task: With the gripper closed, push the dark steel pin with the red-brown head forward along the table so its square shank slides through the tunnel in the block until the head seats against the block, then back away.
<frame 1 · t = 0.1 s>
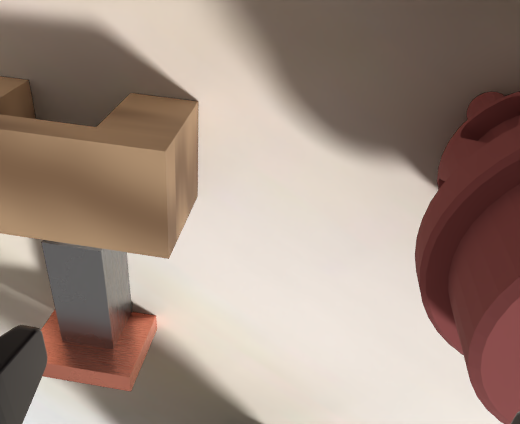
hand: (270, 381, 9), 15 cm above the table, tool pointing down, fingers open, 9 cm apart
pin: (102, 263, 29), on the table
mechanical component: (514, 150, 22), on the table
block: (85, 136, 24), on the table
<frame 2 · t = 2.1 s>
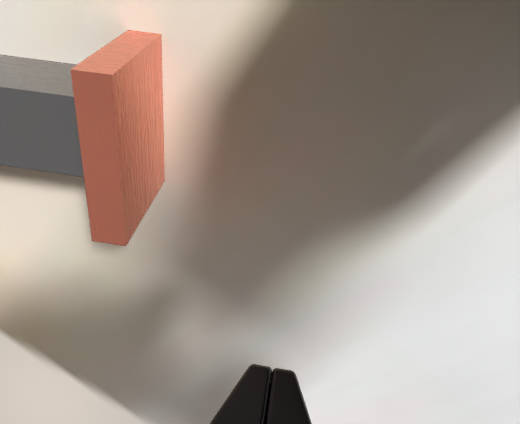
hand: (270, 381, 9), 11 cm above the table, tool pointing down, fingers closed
pin: (46, 97, 20), on the table
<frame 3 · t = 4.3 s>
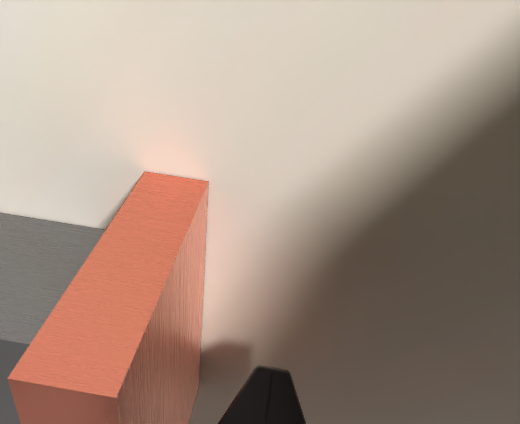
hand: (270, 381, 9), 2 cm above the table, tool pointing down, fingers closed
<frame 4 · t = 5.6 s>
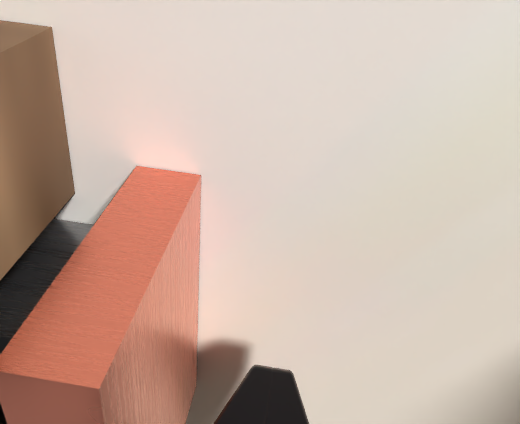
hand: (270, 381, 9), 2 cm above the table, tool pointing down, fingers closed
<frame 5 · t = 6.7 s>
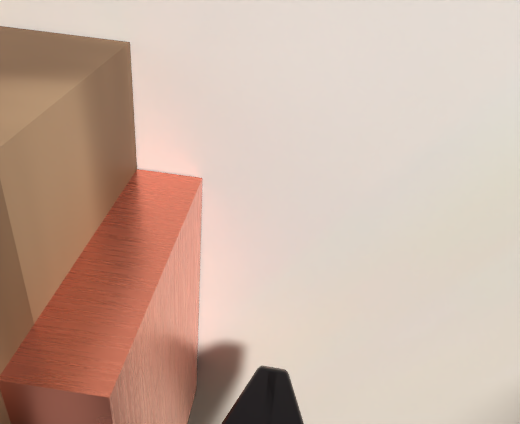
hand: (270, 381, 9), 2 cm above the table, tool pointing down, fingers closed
block: (32, 283, 11), on the table
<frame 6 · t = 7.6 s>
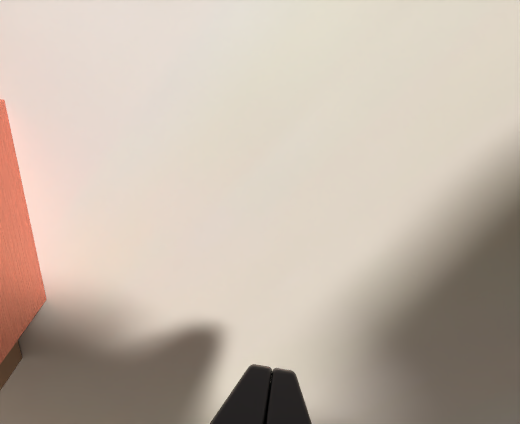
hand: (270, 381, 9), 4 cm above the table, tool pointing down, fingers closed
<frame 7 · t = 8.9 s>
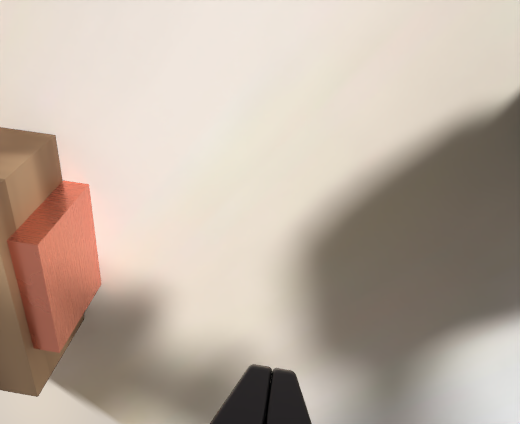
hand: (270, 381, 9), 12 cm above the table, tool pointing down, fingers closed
pin: (3, 222, 24), on the table
block: (22, 230, 24), on the table
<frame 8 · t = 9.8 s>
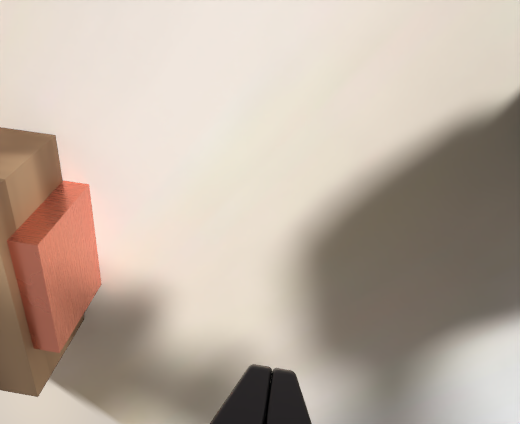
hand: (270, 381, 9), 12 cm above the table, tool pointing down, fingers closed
pin: (3, 222, 24), on the table
block: (22, 231, 24), on the table
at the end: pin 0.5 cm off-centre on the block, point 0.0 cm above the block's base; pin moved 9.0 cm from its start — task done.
